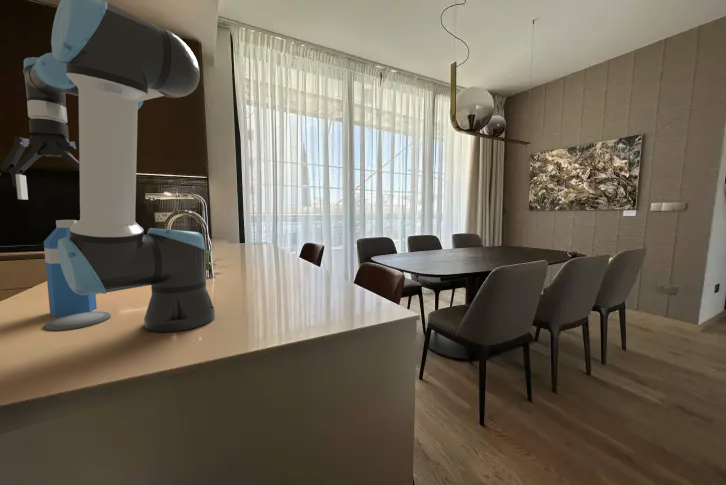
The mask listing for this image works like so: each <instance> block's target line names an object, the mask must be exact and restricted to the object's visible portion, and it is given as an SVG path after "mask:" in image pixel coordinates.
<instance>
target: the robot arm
mask: <svg viewBox="0 0 726 485" xmlns="http://www.w3.org/2000/svg"><path fill="white" fill-rule="evenodd" d="M52 23H53V24H52V30H51V36H50V37H51V40H50V45H51V46H50V47H51V52H47V53H44V54H43V55H41V56H39V57H34V56H32V57H26V58H24V60H23V69H22V72H23V75H24V83H25V93H26V101H27V102H26V103H27V116H28V118H29V120H28V125H29V126H28V127H29V134H30V138H25V137H20V136H14V138H13V145H12V147H11V149H10V150H9V152H8V154H7V156H6V157H5V159H4V161H3V162H2V164H1V166H0V171H1V172H5V173H9V174H10V175H11V184H12V187H15V188H16V193H17V194H16V195H17V200H24V201H25V200H29V197H28V196H29V195H28V194H29V193H28V184H27V176H26V175H24V174H23V173H25V171H27V170H28V169H29V168H30V167H31V166H32V165H33V164H34V163H35V162H36V161H38V160H39V158H42V157H43V156H45V157H57V158H62V157H64V158H65V160H67V161H68V162H69V163H71V164H72V166H74V168H76V169H77V170H78V171H79V211H80V212H79V218H80V219H79V220H77V221H78V222H76V223H75V224H74V225H72V226H71V227H70V237H69V238H68V237H64V238H62V239H59V241H58V247H57V249H58V256H59V261H60V264H61V268H62V271H63V274H64V276H65V279H66V281H67V283H68V285H69V287H70V288H71V289H72V291H74V292H75V293H76V294H79V295H91V294H96V295H98V294H103V295H106V294H107V293H112V292H119V291H125V290H131V289H134V288H142V287H147V286H151V288H150V289H151V296H150V299H149V302H148V305H147V309H146V313H145V315H144V318H143V321H144V322H143V323H144V329H146V330H147V331H149V332H155V333H172V332H180V331H187V330H191V329H195V328H198V327H201V326H204V325H206V324H208V323H210V322H212V321H214V319H215V318H216V317H215V316H216V315H215V313H216V312H215V306H214V305H213V302H212V299H211V297H210V295H209V292H208V289H207V282H206V281H207V278H206V277H207V276H206V246H205V240H204V236H203V234H202V233H200V232H199V231H189V230H179V229H177V230H176V229H166V228H154V227H150V228H148V230H147V234H145V233H144V232H145V231H144V228H143V227H142V226H140V224H138V223H137V222H136V200H137V198H136V197H137V195H136V194H137V159H138V158H137V154H138V150H137V148H138V118H139V117H138V116H139V114H138V112H139V111H138V110H139V109H140V108H141V107H142V106H143V104H144V101H147V100H151V99H155V98H156V99H157V98H160V97H167V98H171V99H177V98H182V97H186V96H189V95H190V94H192V93H193V92H194V91H195V90H196V89H197V88H198V85H199V83H200V79H201V78H200V76H201V74H200V73H201V72H200V66H199V63H198V60H197V58H196V56H195V55H194V53H193V51H192V50H191V48H190V47H189V46H188V45H187V44H186V42H184V41H183V40H182V39H181V38H180V37H179V36H178V35H176V34H174V33H173V32H171V31H169V30H168V29H165V28H164V27H161V26H158V25H156V24H153V23H151V22H150V21H147V20H145V19H144V18H141V17H139V16H137V15H135V14H132V13H130V11H129V12H128V11H127V10H125V9H122V8H120V7H118V6H115V5H113V4H111V3H109V2H107V1H106V0H60V1H59V4H58V7H57V9H56V12H55V15H54V20H53V22H52ZM66 94H69V95H73V96H76V97H78V140H77V139H76V140H74V141H70V138H69V137H70V135H69V126H68V124H67V123H68V113H67V104H66V103H67V102H66V101H67V100H66ZM29 144H30V146H32V148H30V150H28V153H26V155H25V156H24V157H22V156H23V154H24V152H25V150H26V148H27V147H28V146H29ZM71 148H73V149H75V150H76V151H77V153H78V154H79V160H78V159H77V158H75V157H74V155H73V154H72V153H71V152H70V151H69V150H70V149H71ZM21 157H22V158H21Z"/></svg>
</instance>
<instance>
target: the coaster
mask: <svg viewBox="0 0 726 485" xmlns="http://www.w3.org/2000/svg"><path fill="white" fill-rule="evenodd" d="M110 318H111V313H110V312H107V311H101V310H100V311H91V312H85V313H78V314H72V315H68V316H62V317H56V318H54V319H52V320H51V319H50V320H49V321H47V322H46V323H44V329H45V330H47V331H59V332H60V331H68V330H69V331H70V330H77V329H81V328H86V327H91V326H95V325H99V324H101V323H103V322H106V321H108V320H109V319H110Z"/></svg>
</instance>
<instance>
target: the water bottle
mask: <svg viewBox="0 0 726 485" xmlns="http://www.w3.org/2000/svg"><path fill="white" fill-rule="evenodd" d="M78 221H79V220H76V219H59V220H57V219H56V220H55V225H56V228H55V229H53V231H52V232H51V233H50V234H49V235H48V236H47V238H46V239H45V240H44V241H43V248H44V261H45V262H44V263H45V271H46V282H47V283H46V284H47V294H48V303H49V304H48V306H49V315H50V316H52V317H55V318H60V317H64V316H68V315H72V314H78V313H85V312H93V311H94V310H96V309H97V308H98V307H97V305H98V304H97V294H91V295H79V294H76V293H75V292H74V291H72V289H71V288H70V287H69V285H68V283H67V281H66V279H65V276H64V274H63V271H62V268H61V264H60V261H59V256H58V249H57V247H58V241H59V239H62V238H64V237H68V238H69V237H70V227H71V226H72V225H74V224H75V223H76V222H78Z"/></svg>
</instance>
